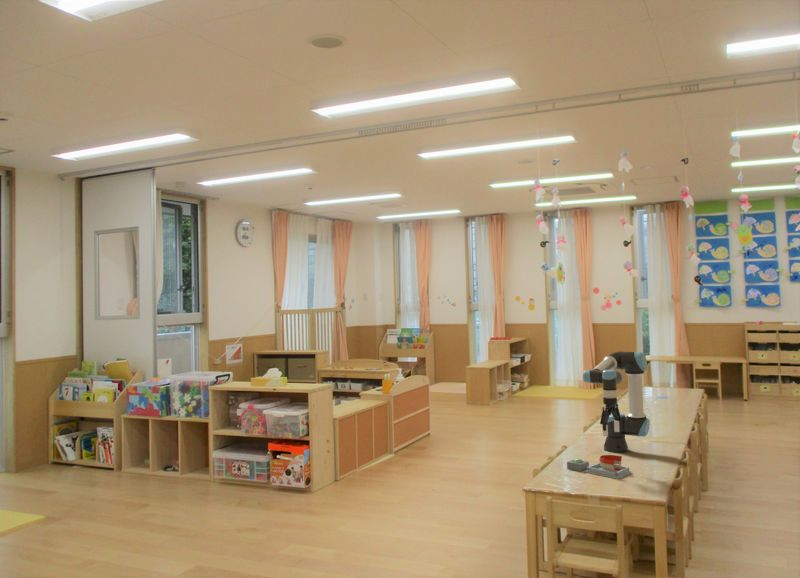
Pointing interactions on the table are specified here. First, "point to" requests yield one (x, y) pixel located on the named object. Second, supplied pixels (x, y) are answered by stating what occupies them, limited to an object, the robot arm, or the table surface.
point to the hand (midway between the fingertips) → (611, 434)
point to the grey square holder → (577, 465)
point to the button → (578, 460)
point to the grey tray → (616, 474)
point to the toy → (610, 462)
